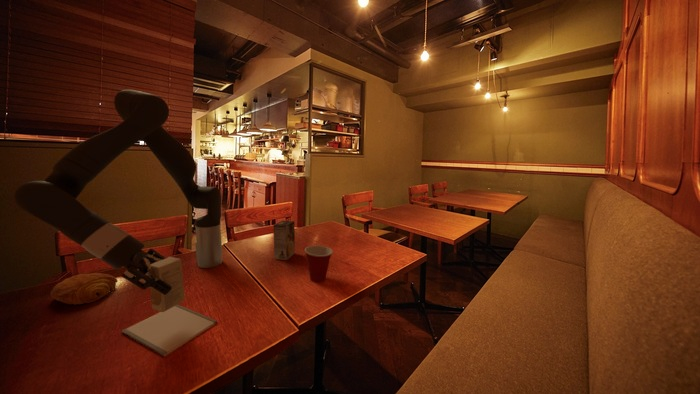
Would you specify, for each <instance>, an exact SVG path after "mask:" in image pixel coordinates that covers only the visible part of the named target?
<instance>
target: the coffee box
mask: <svg viewBox="0 0 700 394" xmlns="http://www.w3.org/2000/svg"><path fill="white" fill-rule="evenodd" d="M295 229H296V228H295V221H293V220H292V221H291V220H281V221H279V222H278V223H275V224H274V225H273V255H274V257H273V258H274V259H275V260H280V261H288V260H289V259H290V258H291V257H292V256H293V255H294V254H295V253H296V252H295V251H296V250H295V249H296V248H295V247H296V246H295V241H296V240H295V239H296V238H295V233H296V232H295Z"/></svg>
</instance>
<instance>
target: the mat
mask: <svg viewBox="0 0 700 394" xmlns="http://www.w3.org/2000/svg"><path fill="white" fill-rule="evenodd" d="M217 323H218V321H217V320H216V319H214V318H211V317H209V316H207V315H204V314H201V313H199V312H196V311H194V310H192V309H190V308H188V307H185V306H182V305H181V304H177V305H176V306H174V307H172V308H170V309H168V310H167V311H165V312H160V311H159V312H157V313H155V314H154V315H152V316H150V317H147V318H146V319H144V320H141V321H139V322H137V323H135V324H133V325H131V326H128V327H127V328H124V329H122V330H121V334H123V333H124V334H126V335H128V336H129V337H128V336H127V337H128V338H130V337H131V338H130V339H132V338H133V339H134V340H133V339H132V340H133V341H135V340H136V342H137V343H139V344H140V343H141V345H142V344H143V345H142V346H144V345H145V347H146V346H147V347H146V348H148V347H149V348H151V349H153V350H154V351H153V350H152V351H153V352H155V353H156V352H157V354H158V353H159V354H158V355H160V356H162V357H163V356H164V357H166V356H168V355H169V354H171V353H172V352H174V351H175V350H177V349H178V348H180V347H182V346H184V345H185V344H186V343H188V342H190V341H191V340H193V339H195V338H197V336H199V335H200V334H202V333H204V332H205V331H207V330H209V328H212V327H213V326H214V325H216V324H217ZM124 334H123V335H124ZM126 335H125V336H126ZM149 348H148V349H149ZM151 349H150V350H151Z"/></svg>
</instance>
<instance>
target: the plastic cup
mask: <svg viewBox="0 0 700 394" xmlns="http://www.w3.org/2000/svg"><path fill="white" fill-rule="evenodd" d="M304 253H305V256H306V261H307V268H308V273H309V279H310V281H311V282H313V283H323V282H325V281H326V277H327V274H328V273H327V272H328V269H329V263H330V260H331V257H332V255H333V253H334V250H333V249H332V248H330V247H328V246H323V245H310V246H306V247H305V248H304Z"/></svg>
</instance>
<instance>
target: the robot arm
mask: <svg viewBox="0 0 700 394" xmlns="http://www.w3.org/2000/svg"><path fill="white" fill-rule="evenodd" d="M113 104H114V108H115V111H116V112H117V114H118V116H119V117H120V118H121V119H122V120H123V121H122V122H120V123H118V124H117V125H116V126H113V127H112V128H111V127H110V129H107V130H104V131H102V132H100V133H98V134H96V135H93V136H91V137H88V138H87V139H85V140H83V141H81V142H80V143H78V144H76V145H75V146H74V147H73V148H71V149H70V150H68V152H67V153H66V154H64V155H63V156H62V157H61V158H60V159H59V160H57V161H56V162H55V164H54V165H53V167H52V171H51V173H50V174H49V175H48V176H47V177H46V178H45V179H44V180H33V181H28V182H25V183H23V184H21V185H20V186H18V187H17V188H16V189H15V191H14V195H13V200H14V203H15V204H16V206H18V208H19V209H21V210H23V211H25V212H26V213H27V214H29V215H31V216H33V217H35V218H37V219H38V220H40V221H42V222H44V223H46V224H47V225H49V226H51V227H53V228H55V229H56V230H57V231H59V232H60V234H63V235H64V236H65V237H66V238H68V239H69V240H70V241H73V242H74V243H76V244H77V245H79V246H81V247H82V248H83V249H85V250H86V251H87V252H88V253H90V254H91V255H92V256H94V257H96V258H98V259H99V260H101V261H102V262H104V263H106V264H107V265H109V266H110V267H112V268H114V269H115V270H121V268H123V267H124V268H125V269H126V271H124V272H123V273H122V274H121V277H122V278H123V279H125V280H126V281H128V282H130V283H132V284H134V285H135V286H137V287H138V288H140V289H141V290H143V291H145V290H147V289H148V288H149V289H150V288H151V287H153V288H154V289H156V290H157V291H159V292H161V293H162V294H164V295H165V294H167V293H168V292H169V291H170V290H171V289H172V287H171V286H170V285H168V284H167V283H165V282H164V281H162V280H161V279H159V278H158V277H157V276H156V275H155V271H154V269H153V268H152V266H151V265H150V264H152V263H155V262H157V261H160V260H163V259H165V258H166V257H165V256H163V255H162V254H161V253H160V252H158V251H156V250H155V249H153V248H149V249H148V250H147V251H144V250H143V249H144V247H145V244H144V243H143V242H142V241H140V240H139V239H138V238H135V237H134V236H133V235H132V234H130V233H128V232H127V231H126V230H124V229H122V228H121V227H120V226H117V225H115V224H113V223H111V222H110V221H108V220H106V219H105V218H104V217H102V216H101V215H99V214H98V213H96V212H94V211H93V210H91V209H89V208H87V207H86V206H85V205H84V204H82V203H81V202H80V201H79V200H77V198H78V197H79V196H80V194H81V193H82V192H83V191H84V189H85V188H86V187H87V185H88V184H89V183H90V182H92V181H93V180H94V179H95V178H97V176H98V175H99V174H100V173H102V172H103V170H105V169H106V168H107V167H108V166H109V165H110V164H112V162H113V161H114V160H116V158H118V157H119V156H120V155H122V154H123V153H124V152H126V151H128V149H130V148H131V147H132V146H135V144H137V143H138V142H140V141H143V142H144V143H145V145H146V146H147V147H148V149H149V150H150V152H152V154H153V155H154V156H155V157H156V159H157V160H158V161H159V163H160V164H161V166H162V167H163V168H164V169H165V170H166V172H167V173H168V174H169V176H171V178H172V179H173V180H174V182H175V184H177V186H178V187H179V188H180V190H181V192H182V193H183V195H184V197H185V199H186V200H187V202H188V204H189V205H190V206H191V207H192V208H194V209H198V210H199V209H200V210H207V212H206V214H205V215H203V216H202V215H201V216H199V217H197V218H196V219H195V221H194V225H195V239H196V242H195V254H196V255H195V257H196V259H195V260H196V264H197V267H199V268H201V269H210V268H215V267H218V266H219V265H222V264H223V247H222V246H223V245H222V229H221V218H222V193H221V191H220V189H219V188H218V187H216V186H200V185H199V184H197V183H196V181H195V179H194V178H195V176H196V171H197V163H196V161H195V158H194V157H193V156H192V155H191V153H190V151H189V150H188V149H187V147H185V145H184V144H183V143H182V142H180V141H179V140H178V139H177V138H175V137H174V136H173V135H172V134H171V133H169V131H167V130H166V129H165V128H164V127H163V125H164V124H166V122H167V120H168V119H169V116H170V111H169V110H170V109H169V106H168V103H167V102H166V100H164V99H163V98H162V97H161V96H157V95H155V94H152V93H148V92H145V91H140V90H135V89H122V90H120V91H118V92H117V93H115V95H114V99H113ZM150 277H151V278H150Z"/></svg>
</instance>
